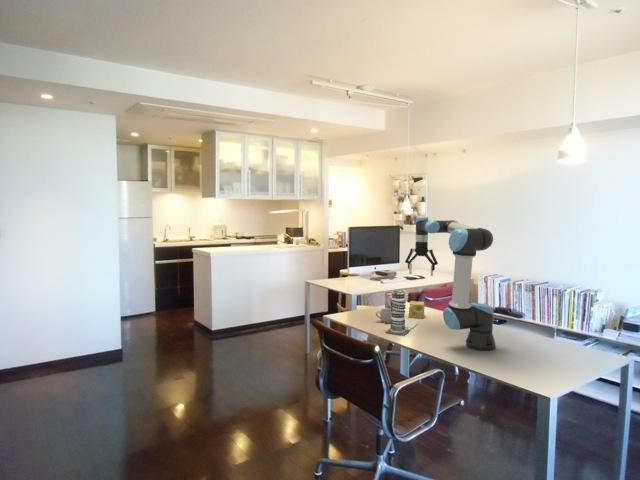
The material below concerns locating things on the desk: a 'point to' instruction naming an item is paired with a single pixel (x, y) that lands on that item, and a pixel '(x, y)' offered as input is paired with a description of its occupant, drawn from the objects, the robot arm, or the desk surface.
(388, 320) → the teacup
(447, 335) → the desk surface
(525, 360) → the desk surface
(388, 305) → the gum box
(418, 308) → the cheese
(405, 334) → the charcoal mat
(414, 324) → the sage mat
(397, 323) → the decorative candle
